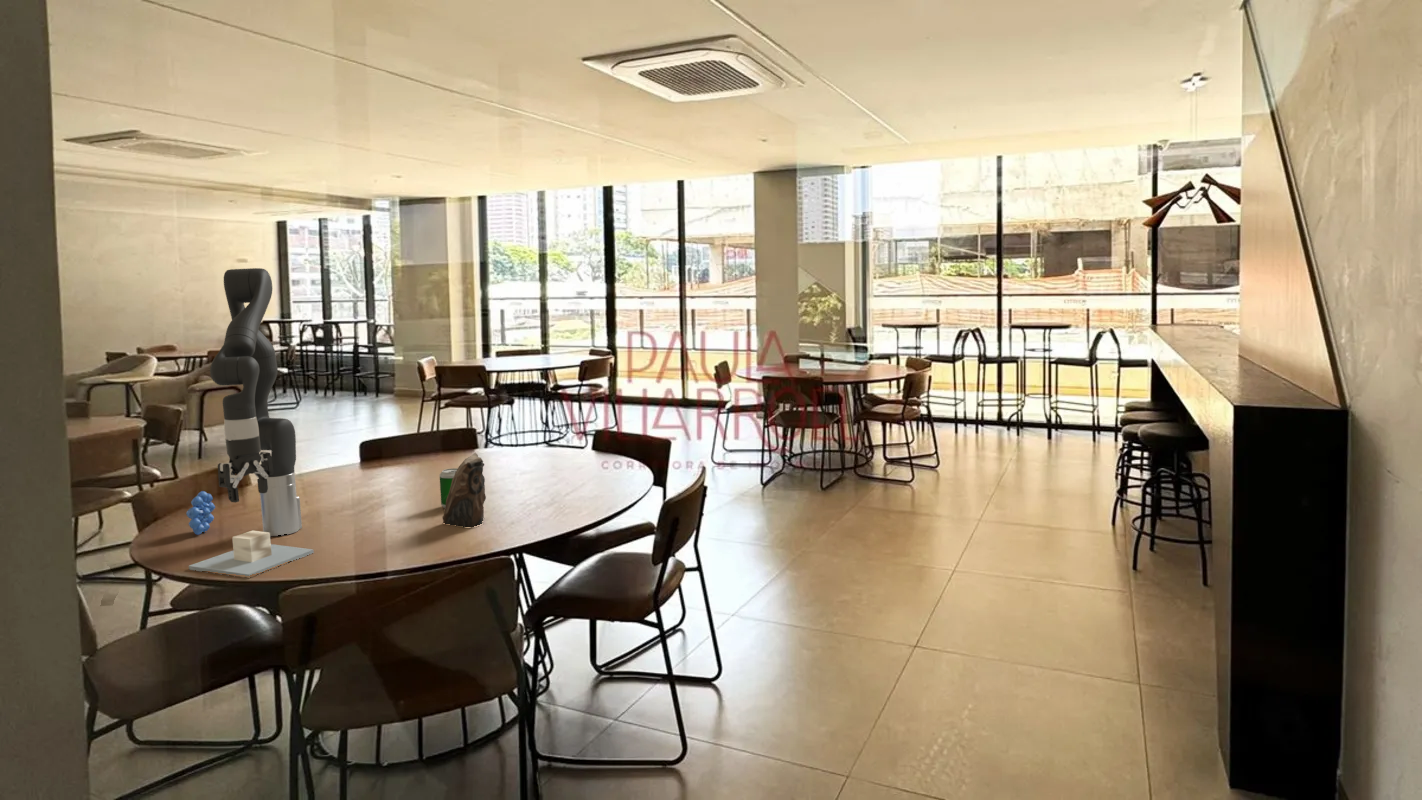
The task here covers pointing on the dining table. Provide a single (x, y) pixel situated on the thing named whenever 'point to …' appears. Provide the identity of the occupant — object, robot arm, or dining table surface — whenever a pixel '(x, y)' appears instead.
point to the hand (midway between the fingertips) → (249, 497)
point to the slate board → (231, 566)
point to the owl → (466, 494)
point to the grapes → (201, 512)
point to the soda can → (446, 483)
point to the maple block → (251, 546)
